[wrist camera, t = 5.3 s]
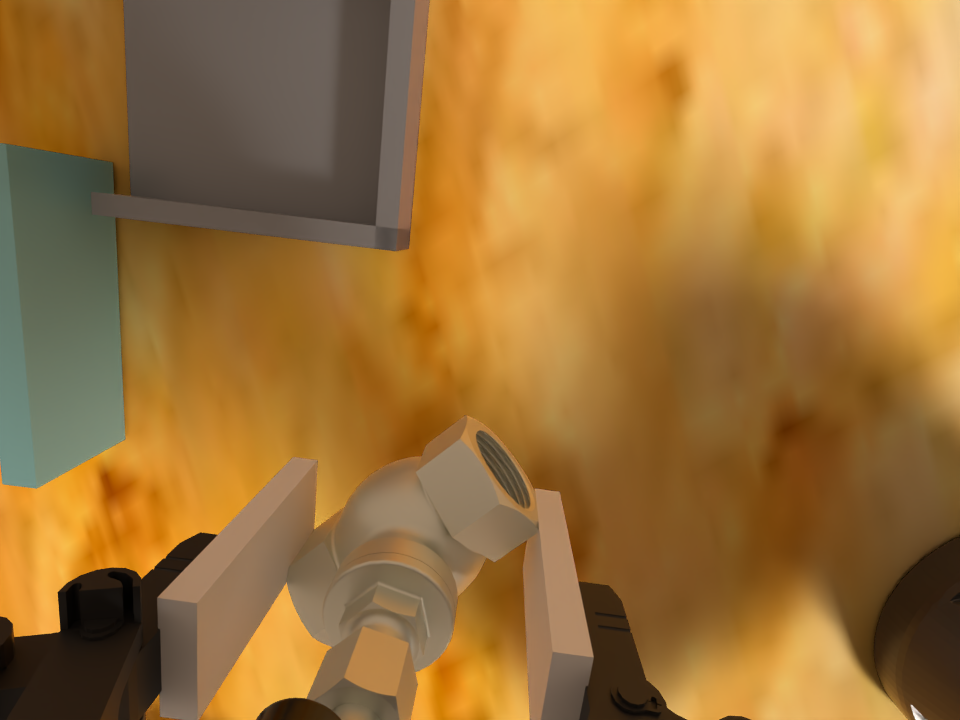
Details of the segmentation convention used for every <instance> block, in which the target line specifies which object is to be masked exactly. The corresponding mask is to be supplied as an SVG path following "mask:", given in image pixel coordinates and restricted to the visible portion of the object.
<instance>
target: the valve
mask: <svg viewBox="0 0 960 720" xmlns="http://www.w3.org/2000/svg"><path fill="white" fill-rule="evenodd" d="M537 532H538V511H537V502H536V493H535V491H534V488H533V486H532V484H531V483H530V481H529V479H528V477H527V476H526V474H525V472H524V471H523V469H522V467H521V466H520V464H519V463H518V461H517V460H516V459H515V457H514V456H513V455H512V453H511V452H510V451H509V449H508V448H507V447H506V446H505V444H504V443H503V442H502V441H501V440H500V439H499V438H498V437H497V436H496V435H495V434H494V433H493V432H492V431H491V430H490V429H489V428H488V427H487V426H485V425H484V424H483V423H481V422H480V421H478V420H476V419H474V418H472V417H469V416H467V415H465V416H463V417H462V418H461V419H459V420H458V421H457V422H456V423H454V424H453V425H452V426H450V427H449V428H448V429H446V430H445V431H444V432H442V433H441V434H440V435H438V436H437V437H436V438H434V439H433V440H432V441H431V442H429V443H428V444H427V445H426V447H425V449H424V452H423V454H422V456H416V457H409V458H405V459H401V460H397V461H394V462H392V463H390V464H387V465H385V466H383V467H382V468H380V469H378V470H377V471H375V472H374V473H372V474H371V475H370V476H369V477H367V478H366V479H365V480H364V481H363V482H362V483H361V484H360V485H359V486H358V487H357V488H356V490H355V491H354V492H353V494H352V495H351V497H350V498H349V500H348V501H347V503H346V505H345V507H344V508H342V509H341V510H340V511H338V512H337V513H336V514H334V515H333V516H332V517H330V518H329V519H328V520H326V521H325V522H324V523H323V524H321V525H320V526H319V527H317V528H316V529H315V530H313V532H312V533H311V535H310V536H309V538H308V539H307V541H306V542H305V544H304V545H303V547H302V548H301V550H300V551H299V553H298V554H297V556H296V557H295V559H294V560H293V562H292V563H291V565H290V566H289V569H288V575H287V581H286V582H287V586H288V590H289V593H290V596H291V599H292V602H293V604H294V607H295V609H296V611H297V613H298V615H299V617H300V619H301V621H302V622H303V624H304V626H305V627H306V629H307V630H308V632H309V633H310V634H311V636H312V637H313V638H315V639H316V640H318V641H320V642H322V643H323V644H326V645H329V646H331V647H332V648H331V649H330V650H328V651H327V653H326V655H325V657H324V660H323V662H322V664H321V667H320V669H319V671H318V673H317V676H316V678H315V680H314V683H313V685H312V687H311V690H310V692H309V694H308V696H307V699H305V698H288V699H284V700H280V701H277V702H275V703H273V704H271V705H270V706H268V707H267V708H265V709H264V710H263V711H262V712H261V713H260V715H259V716H258V717H257V719H256V720H411V715H412V710H413V705H414V700H415V695H416V690H417V685H418V683H417V678H416V673H415V672H417V671H420V670H422V669H424V668H425V667H427V666H429V665H431V664H432V663H433V662H434V661H436V660H437V659H438V658H439V657H440V656H441V655H442V654H443V652H444V651H445V650H446V648H447V646H448V644H449V642H450V641H451V638H452V634H453V630H454V623H455V615H456V608H457V600H458V596H459V595H460V594H461V593H462V592H463V591H464V590H465V589H466V588H467V587H468V586H469V585H470V584H471V583H472V582H473V580H474V579H475V578H476V576H477V575H478V573H479V572H480V570H481V568H482V566H483V564H484V562H485V560H486V558H488V559H490V560H492V561H493V562H496V561H497V560H499V559H500V558H502V557H503V556H504V555H506V554H507V553H509V552H510V551H512V550H513V549H515V548H516V547H518V546H519V545H520V544H522V543H523V542H525V541H526V540H528V539H529V538H531V537H532V536H534V535H535V534H536V533H537Z"/></svg>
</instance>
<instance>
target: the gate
mask: <svg viewBox="0 0 960 720" xmlns="http://www.w3.org/2000/svg"><path fill="white" fill-rule="evenodd" d="M91 192H99V193H109V194H114V178H113V162H108V161H102V160H96V159H90V158H85V157H79V156H73V155H67V154H62V153H56V152H50V151H44V150H39V149H33V148H27V147H21V146H16V145H10V144H3V143H0V464H1V473H2V483H3V484H5V485H13V486H21V487H29V488H39V487H40V486H42V485H44V484H46V483H48V482H49V481H51V480H53V479H55V478H56V477H58V476H60V475H62V474H64V473H65V472H67V471H69V470H71V469H73V468H74V467H76V466H78V465H80V464H82V463H83V462H85V461H87V460H89V459H91V458H92V457H94V456H96V455H98V454H100V453H101V452H103V451H105V450H107V449H109V448H110V447H112V446H114V445H116V444H118V443H119V442H121V441H123V440H125V423H124V400H123V378H122V356H121V334H120V311H119V289H118V267H117V245H116V223H115V217H108V216H100V215H92V205H91Z"/></svg>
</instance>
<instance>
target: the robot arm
mask: <svg viewBox="0 0 960 720" xmlns="http://www.w3.org/2000/svg"><path fill="white" fill-rule="evenodd" d="M317 464H318V460H312V459H304V458H297V457H293V458H292V459H291V460H290V461H289V462H288V463H287V464H286V465H285V466H284V467H283V468H282V469H281V470H280V471H279V472H278V473H277V474H276V475H275V476H274V477H273V479H272V480H271V481H270V482H269V483H268V484H267V485H266V486H265V487H264V488H263V489H262V490H261V491H260V492H259V493H258V494H257V495H256V496H255V497H254V498H253V499H252V500H251V501H250V502H249V503H248V504H247V505H246V506H245V507H244V508H243V510H242V511H241V512H240V513H239V514H238V515H237V516H236V517H235V518H234V519H233V520H232V521H231V522H230V523H229V524H228V525H227V526H226V527H225V528H224V529H223V530H222V531H221V532H220V533H219V534H218V535H215V534H208V533H199V534H197V535H195V536H193V537H191V538H189V539H187V540H185V541H183V542H181V543H180V544H179V545H177V546H176V547H175V548H174V549H173V550H172V551H171V552H170V553H169V554H168V555H167V556H166V559H163V560H161V561H160V562H159V563H158V564H157V565H156V566H155V568H154V570H153V569H152V570H151V571H150V572H149V573H148V574H147V575H146V576H144V577H143V578H142V579H141V577H140V576H139V575H138V574H137V572H135V571H132V570H130V569H127V568H106V569H100V570H95V571H92V572H89V573H86V574H84V575H81V576H79V577H77V578H75V579H74V580H72V581H70V582H68V583H67V584H66V585H65V586H64V587H63V588H62V589H61V590H60V591H59V592H58V601H59V615H60V629H61V631H60V632H58V633H52V634H42V635H32V636H22V637H14V632H13V624H12V623H11V622H10V621H9V620H8V619H7V618H5V617H0V720H146V717H145V712H146V710H147V709H148V708H149V706H150V705H151V704H152V703H153V701H154V700H155V699H156V697H157V696H158V695H159V693H160V717H166V718H173V719H180V720H199V719H200V717H201V716H202V714H203V713H204V711H205V710H206V708H207V706H208V705H209V703H210V702H211V700H212V699H213V697H214V695H215V694H216V692H217V691H218V689H219V688H220V686H221V684H222V683H223V681H224V680H225V678H226V677H227V675H228V673H229V672H230V670H231V669H232V667H233V666H234V664H235V662H236V661H237V659H238V658H239V656H240V655H241V653H242V651H243V650H244V648H245V647H246V645H247V644H248V642H249V640H250V639H251V637H252V636H253V634H254V633H255V631H256V629H257V628H258V626H259V625H260V623H261V622H262V620H263V618H264V617H265V615H266V614H267V612H268V611H269V609H270V607H271V606H272V604H273V603H274V601H275V600H276V598H277V596H278V595H279V593H280V592H281V590H282V589H283V587H284V585H285V584H286V581H287V575H288V569H289V566H290V565H291V563H292V562H293V560H294V559H295V557H296V556H297V554H298V553H299V551H300V550H301V548H302V547H303V545H304V544H305V542H306V541H307V539H308V538H309V536H310V535H311V533H312V532H313V530H314V523H315V503H316V483H317ZM535 493H536V502H537V511H538V532H537V533H536V534H535V535H534V536H532V537H531V538H529V539H528V540H527V544H526V550H525V557H524V563H523V582H524V604H525V625H526V647H527V669H528V690H529V712H530V720H686V719H684V718H682V717H680V716H678V715H676V714H675V713H673V712H672V711H671V710H669V709H668V708H667V706H666V702H665V700H664V699H663V697H662V695H661V694H660V692H659V691H658V690H657V689H656V688H655V687H654V686H653V685H652V684H650V683H649V682H648V681H646V678H645V675H644V671H643V668H642V665H641V662H640V659H639V655H638V652H637V649H636V646H635V643H634V639H633V636H632V633H630V627H629V623H628V620H627V619H626V614H625V611H624V607H623V604H622V601H621V599H620V598H619V597H618V596H617V595H616V594H615V592H614V591H613V590H612V589H611V588H610V587H609V586H608V585H600V584H593V583H585V582H578V578H577V573H576V568H575V563H574V559H573V554H572V549H571V544H570V539H569V534H568V529H567V524H566V520H565V515H564V510H563V505H562V500H561V495H560V492H558V491H550V490H543V489H535ZM874 657H875V665H876V669H877V673H878V676H879V679H880V681H881V683H882V686H883V688H884V689H885V691H886V693H887V694H888V696H889V697H890V698H891V700H892V701H893V702H894V703H895V705H896V706H897V707H898V708H899V709H900V711H901V712H902V713H903V714H904V715H905V717H906V718H907V719H908V720H960V537H958V538H956V539H954V540H952V541H950V542H948V543H947V544H945V545H943V546H941V547H940V548H938V549H937V550H935V551H934V552H932V553H931V554H930V555H928V556H927V557H926V558H924V559H923V560H922V561H921V562H920V563H918V564H917V565H916V566H915V567H914V568H913V569H912V570H911V571H910V572H909V573H908V574H907V575H906V576H905V577H904V578H903V579H902V581H901V582H900V583H899V584H898V586H897V587H896V588H895V590H894V591H893V593H892V594H891V596H890V598H889V599H888V601H887V603H886V605H885V607H884V609H883V611H882V614H881V616H880V619H879V622H878V625H877V629H876V634H875V642H874ZM720 720H750V719H748V718H745V717H742V716H727V717H724V718H722V719H720Z"/></svg>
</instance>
